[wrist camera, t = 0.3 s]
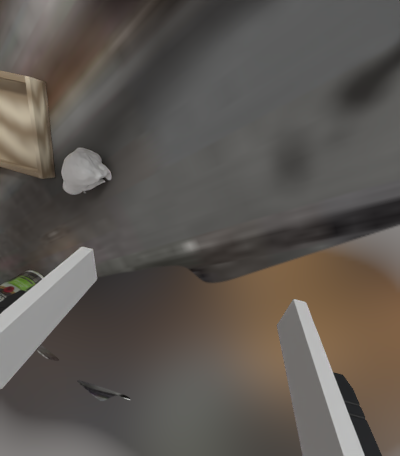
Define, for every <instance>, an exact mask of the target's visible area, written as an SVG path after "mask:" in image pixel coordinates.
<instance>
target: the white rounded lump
mask: <svg viewBox="0 0 400 456" xmlns="http://www.w3.org/2000/svg"><path fill="white" fill-rule="evenodd" d="M61 175H62V178H63V180H64V182H63V189H64V191H65V192H67V193H69V194H72V195H76V194H79V193H81V192H83V191H84V193H86V192H85V191H86V190H90V189H93V188H94V187H96V186H97V185H99V184H101V183H104V182H105V180H102V179H101V178H104V177H105V178H106V179H107V180H111V179H112V178H111V177H112V176H111V172H110V170H109V169H108V168H107V167H106V166H105V165H103V164H102V159H101V157H100V156H99V155H98V154H97V153H94V152H93V151H91V150H89V149H85V148H77V149H76V150H75V151H74V152H72V153H70V154H69V155H68V156H67V157H66V158H65V159H64V163H63V166H62V170H61Z"/></svg>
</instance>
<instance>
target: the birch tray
mask: <svg viewBox="0 0 400 456" xmlns="http://www.w3.org/2000/svg"><path fill="white" fill-rule="evenodd" d="M0 167H3V168H6V169H10V170H13V171H17V172H20V173H24V174H27V175H31V176H34V177H38V178H41V179H46V178H53V177H55V167H54V158H53V148H52V138H51V129H50V119H49V110H48V100H47V90H46V82H43V81H40V80H37V79H34V78H31V77H28V76H23V75H18V74H14V73H9V72H4V71H0Z"/></svg>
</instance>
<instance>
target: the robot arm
mask: <svg viewBox="0 0 400 456" xmlns="http://www.w3.org/2000/svg"><path fill="white" fill-rule="evenodd" d="M96 280H97V274H96V267H95V260H94V253H93V249H90V248H86V247H81V248H80V249H78V250H77V251H76V252H75V253H74V254H72V255H71V256H70V257H69V258H67V259H66V260H65V261H64V262H63V263H61V264H60V265H59V266H58V267H57V268H55V269H54V270H53V271H52V272H50V273H49V274H48V275H47V276H46V277H44V278H43V279H42V280H41V281H39V282H38V283H37V284H36V285H35V286H33V287H32V288H31V289H30V290H29V291H23V290H20V291H18V292H16V293H14V294H12V295H10V296H8V297H6V298H5V299H4V300H2V301H1V302H0V389H2V388H3V387H4V386H5V385H6V383H7V382H8V381H9V380H10V379H11V377H12V376H13V375H14V374H15V373H16V372H17V371H18V370H19V368H20V367H21V366H22V365H23V364H24V363H25V361H26V360H27V359H28V358H29V357H30V356H31V355H32V354H33V352H34V351H35V350H36V349H37V348H38V347H39V346H40V344H41V343H42V342H43V341H44V340H45V339H46V337H47V336H48V335H49V334H50V333H51V332H52V331H53V329H54V328H55V327H56V326H57V325H58V324H59V323H60V321H61V320H62V319H63V318H64V317H65V316H66V315H67V313H68V312H69V311H70V310H71V309H72V308H73V306H74V305H75V304H76V303H77V302H78V301H79V299H80V298H81V297H82V296H83V295H84V294H85V293H86V292H87V290H88V289H89V288H90V287H91V286H92V285H93V283H94V282H95V281H96ZM277 329H278V334H279V338H280V344H281V349H282V354H283V359H284V363H285V368H286V374H287V379H288V384H289V389H290V394H291V399H292V404H293V409H294V414H295V419H296V424H297V429H298V435H299V440H300V444H301V450H302V455H303V456H382V455H381V453H380V450H379V448H378V446H377V444H376V441H375V439H374V436H373V434H372V432H371V430H370V427H369V425H368V423H367V421H366V420H365V416H364V413H363V411H362V409H361V407H360V406H359V402H358V400H357V397H356V395H355V393H354V390H353V388H352V387H351V386H350V384H349V383H348V381H347V380H346V379H345V377H344V376H343V375H341V374H337V373H334V372H332V369H331V366H330V364H329V361H328V359H327V356H326V353H325V351H324V348H323V345H322V343H321V340H320V338H319V335H318V333H317V330H316V327H315V325H314V322H313V320H312V317H311V314H310V312H309V309H308V306H307V304H306V302H303V301H299V300H295V299H293V301H292V302H291V304H290V305H289V307H288V309H287V310H286V312H285V313H284V315H283V317H282V318H281V320H280V321H279V323H278V324H277Z"/></svg>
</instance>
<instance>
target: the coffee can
mask: <svg viewBox="0 0 400 456" xmlns="http://www.w3.org/2000/svg"><path fill="white" fill-rule="evenodd" d="M43 278H44V277H43V276H42V275H41V274H40V273H38V272H36V271H33V270H27V271H25V272H24V273H22V274H20V275H18V276H17V277H15V278H13V279H11V280H9V281H7V282H6V283H4V284H2V285H0V302H1V301H2V300H4V299H5V298H6V297H8V296H10V295H12V294H14V293H16V292H18V291H20V290H23V291H29V290H30V289H31V288H32V287H33V286H35V285H36V284H37V283H38V282H39V281H41V280H42V279H43Z"/></svg>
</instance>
